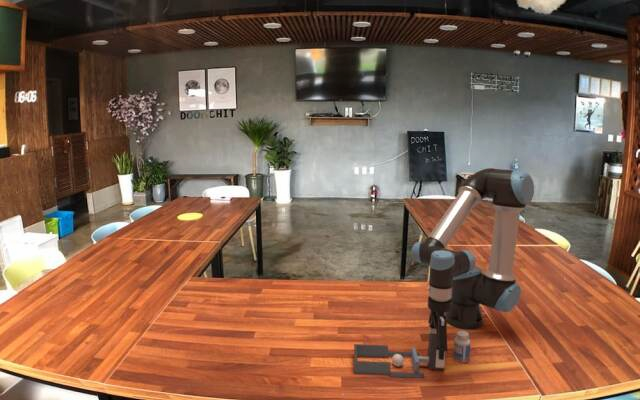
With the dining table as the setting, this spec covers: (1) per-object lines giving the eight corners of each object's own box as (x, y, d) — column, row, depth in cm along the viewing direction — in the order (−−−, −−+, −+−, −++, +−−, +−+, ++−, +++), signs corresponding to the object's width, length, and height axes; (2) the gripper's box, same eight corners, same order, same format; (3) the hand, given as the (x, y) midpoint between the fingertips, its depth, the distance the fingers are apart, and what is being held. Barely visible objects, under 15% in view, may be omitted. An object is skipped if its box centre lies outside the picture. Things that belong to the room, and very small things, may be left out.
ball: (402, 362, 155) (403, 351, 154) (404, 368, 151) (404, 358, 150) (391, 361, 155) (391, 351, 154) (392, 368, 151) (392, 357, 150)
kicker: (440, 359, 156) (442, 330, 154) (445, 373, 148) (447, 343, 145) (411, 358, 157) (412, 329, 155) (414, 372, 148) (416, 342, 146)
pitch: (418, 355, 159) (418, 345, 159) (424, 378, 146) (424, 367, 145) (353, 352, 161) (354, 342, 160) (354, 375, 147) (354, 364, 146)
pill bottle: (466, 354, 160) (467, 329, 158) (471, 362, 155) (473, 337, 153) (451, 354, 160) (452, 329, 158) (456, 363, 155) (457, 337, 153)
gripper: (422, 283, 160) (419, 337, 164) (435, 313, 135) (431, 376, 139) (443, 283, 159) (440, 338, 163) (460, 314, 135) (455, 377, 139)
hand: (435, 356), depth 151 cm, fingers open, 13 cm apart
